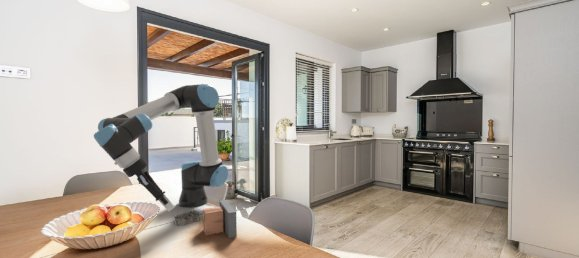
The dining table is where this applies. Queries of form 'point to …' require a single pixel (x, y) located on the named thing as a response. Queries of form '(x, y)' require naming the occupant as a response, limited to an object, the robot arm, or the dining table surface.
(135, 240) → the dining table surface
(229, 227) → the grey board
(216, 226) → the terracotta block
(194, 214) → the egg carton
